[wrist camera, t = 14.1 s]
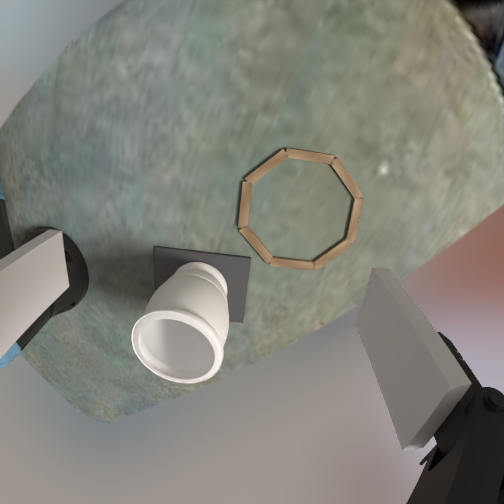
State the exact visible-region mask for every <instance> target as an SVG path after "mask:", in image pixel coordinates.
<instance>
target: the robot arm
mask: <svg viewBox="0 0 504 504" xmlns="http://www.w3.org/2000/svg"><path fill="white" fill-rule="evenodd" d="M5 201H6V198H5V196H4V194H3V189H2V184H1V178H0V368H4V367H6V366H8V365H9V364H10V363H11V362H12V361H13V360H14V359H15V358H16V357H17V356H19V355H20V354H21V351H22V350H23V349H24V348H25V346H26V345H27V344H28V343H29V342H30V341H31V339H32V338H33V337H34V336H35V335H36V334H37V333H38V332H39V330H40V329H41V328H42V327H43V326H44V325H45V324H46V323H47V321H48V320H49V319H50V318H51V317H53V316H55V315H58V314H60V313H63V312H65V311H68V310H70V309H72V308H74V307H75V306H76V305H77V304H78V303H79V302H80V301H81V300H82V299H83V298H84V296H85V294H86V292H87V289H88V283H89V277H88V270H87V266H86V263H85V260H84V258H83V256H82V254H81V252H80V250H79V249H78V247H77V246H76V245H75V243H74V242H73V241H72V240H71V239H70V238H69V237H68V236H67V235H65V234H64V233H63V232H62V231H60V230H57V229H54V228H50V227H43V228H39V229H37V230H35V231H34V232H32V233H30V234H29V235H28V236H27V237H26V238H25V239H24V240H23V242H22V244H21V245H20V246H19V248H18V249H16V250H15V248H14V244H13V240H12V235H11V231H10V226H9V222H8V216H7V210H6V204H5ZM355 325H356V328H357V330H358V333H359V335H360V338H361V340H362V343H363V345H364V347H365V350H366V352H367V355H368V357H369V360H370V362H371V365H372V368H373V370H374V372H375V375H376V378H377V380H378V383H379V386H380V388H381V391H382V394H383V396H384V399H385V402H386V405H387V407H388V410H389V413H390V416H391V418H392V421H393V424H394V427H395V430H396V433H397V436H398V439H399V442H400V445H401V448H402V451H406V450H411V449H417V448H422V447H424V446H425V445H426V444H427V442H428V441H429V440H430V439H431V438H432V437H433V435H434V437H435V440H436V442H437V444H436V445H435V447H434V448H433V449H432V450H431V451H430V452H429V453H428V454H427V455H426V456H425V457H424V459H423V460H422V461H421V462H420V465H423V464H424V463H425V462H426V461H427V462H426V465H425V467H424V469H423V472H422V474H421V476H420V478H419V480H418V482H417V484H416V486H415V488H414V490H413V492H412V494H411V496H410V498H409V500H408V502H407V503H406V504H504V395H503V394H502V393H501V392H500V391H498V390H497V389H495V388H491V387H483V388H482V386H481V384H480V383H479V381H478V380H477V378H476V377H475V375H474V374H473V373H472V371H471V369H470V368H469V366H468V365H467V364H466V362H465V361H463V358H462V356H461V355H460V353H457V351H458V350H457V349H456V348H455V346H454V345H453V343H452V342H451V341H450V340H449V339H448V338H447V337H445V336H444V335H443V334H442V333H440V332H437V331H436V330H435V329H434V327H433V326H432V324H431V323H430V322H429V320H428V319H427V318H426V316H425V315H424V314H423V313H422V311H421V310H420V308H419V307H418V306H417V304H416V303H415V302H414V300H413V299H412V298H411V296H410V295H409V294H408V293H407V291H406V290H405V289H404V288H403V286H402V285H401V284H400V282H399V281H398V280H397V279H396V277H395V276H394V275H393V274H392V272H391V271H390V270H389V269H382V268H372V271H371V275H370V278H369V282H368V285H367V288H366V292H365V295H364V298H363V301H362V304H361V308H360V311H359V314H358V317H357V320H356V323H355Z"/></svg>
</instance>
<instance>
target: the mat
mask: <svg viewBox="0 0 504 504" xmlns="http://www.w3.org/2000/svg"><path fill="white" fill-rule="evenodd" d="M250 260H251V257H244V256H236V255H227V254H219V253H210V252H202V251H194V250H185V249H177V248H169V247H160V246H155V287H156V290H157V289H158V288H159V287H160V286H161V285H162V284H164V283H165V282H166V281H167V280H168V279H169V278H170V277H171V276H173V275H174V274H175V272H176V271H177V270H178V268H180V267H181V266H182V265H184V264H187V263H190V262H202V263H206V264H209V265H211V266H213V267H214V268H216V269H217V270H218V271H219V272H220V273H221V274H222V276H223V277H224V279H225V281H226V284H227V301H228V312H229V321H233V322H241V323H243V317H244V309H245V301H246V293H247V284H248V276H249V268H250Z"/></svg>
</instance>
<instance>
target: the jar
mask: <svg viewBox="0 0 504 504" xmlns="http://www.w3.org/2000/svg"><path fill="white" fill-rule="evenodd" d="M228 328H229V312H228V301H227V284H226V281H225V279H224V277H223V276H222V274H221V273H220V272H219V271H218V270H217V269H216V268H214V267H213V266H211V265H209V264H206V263H202V262H190V263H187V264H184V265H182V266H181V267H180V268H178V270H177V271H176V272H175V274H174V275H173V276H171V277H170V278H169V279H168V280H167V281H166V282H165V283H164V284H162V285H161V286H160V287H159V288H158V289H157V290H156V292H155V293H154V294H153V296H152V297H151V299H150V300H149V302H148V304H147V306H146V309H145V312H144V315H142V316H141V317H140V318H139V320H138V321H137V322H136V324H135V326H134V328H133V331H132V345H133V348H134V351H135V353H136V354H137V356H138V358H139V359H140V360H141V362H142V363H143V364H144V365H145V366H146V367H147V368H148V369H150V370H151V371H152V372H154V373H155V374H157V375H159V376H161V377H163V378H165V379H168V380H170V381H174V382H179V383H198V382H202V381H205V380H207V379H209V378H211V377H212V376H214V375H215V374H216V373H217V371H218V370H219V369H220V367H221V364H222V361H223V355H224V351H223V346H224V344H225V341H226V338H227V334H228Z"/></svg>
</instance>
